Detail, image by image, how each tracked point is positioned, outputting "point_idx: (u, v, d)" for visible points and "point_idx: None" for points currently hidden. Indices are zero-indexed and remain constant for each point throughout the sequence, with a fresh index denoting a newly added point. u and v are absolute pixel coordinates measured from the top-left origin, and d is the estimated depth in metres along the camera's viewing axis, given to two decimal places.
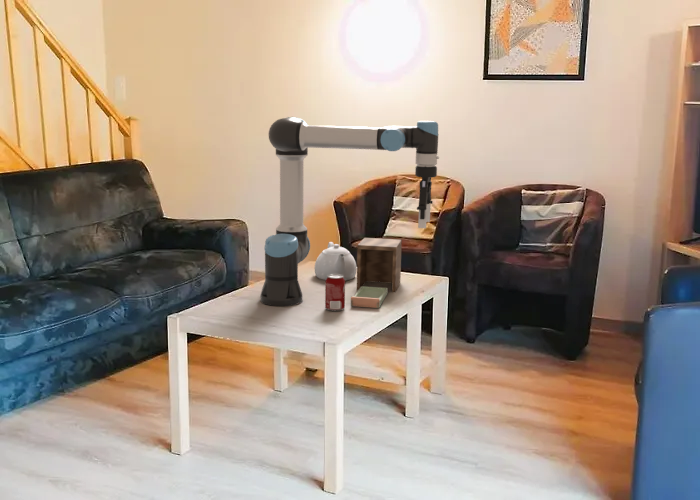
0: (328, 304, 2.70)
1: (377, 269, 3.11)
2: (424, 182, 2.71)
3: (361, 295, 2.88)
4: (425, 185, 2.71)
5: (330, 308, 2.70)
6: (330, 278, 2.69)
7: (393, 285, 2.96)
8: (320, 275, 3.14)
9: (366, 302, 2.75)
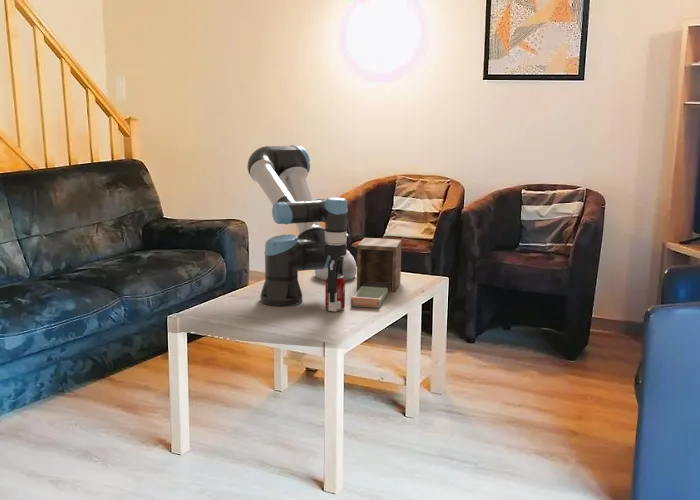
0: (328, 304, 2.70)
1: (377, 269, 3.11)
2: (331, 266, 2.63)
3: (361, 295, 2.88)
4: (333, 268, 2.64)
5: None
6: None
7: (393, 285, 2.96)
8: (320, 275, 3.14)
9: (366, 302, 2.75)
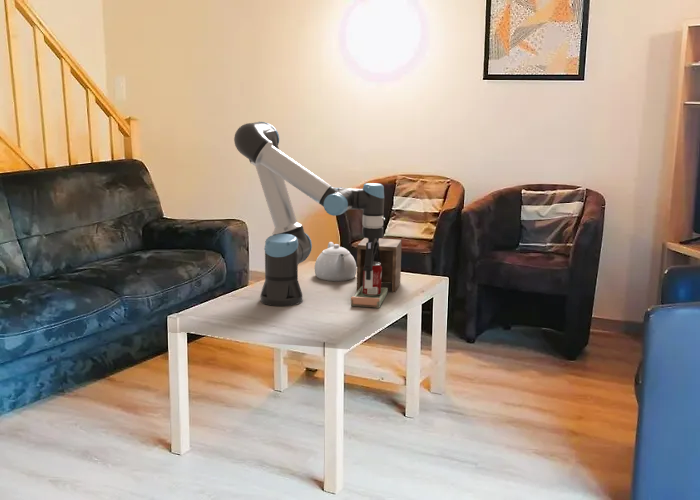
0: (365, 290, 2.85)
1: None
2: (370, 244, 2.78)
3: (361, 295, 2.88)
4: (371, 247, 2.78)
5: (367, 293, 2.85)
6: None
7: (393, 285, 2.96)
8: (320, 275, 3.14)
9: (366, 302, 2.75)
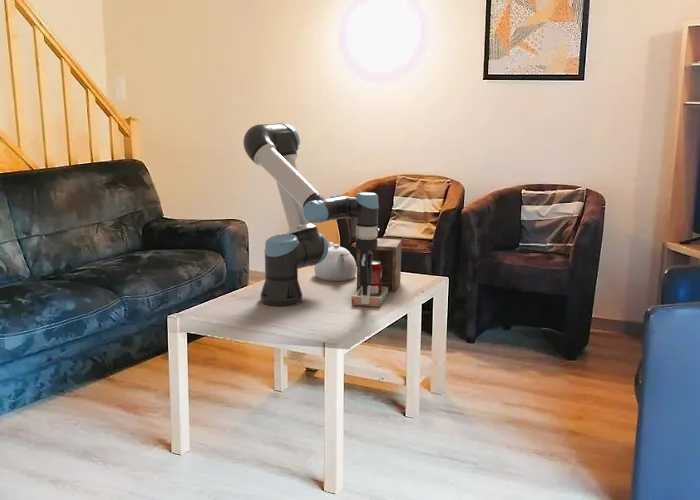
0: None
1: None
2: (363, 263, 2.67)
3: None
4: (364, 265, 2.68)
5: None
6: None
7: (393, 285, 2.96)
8: (320, 275, 3.14)
9: None
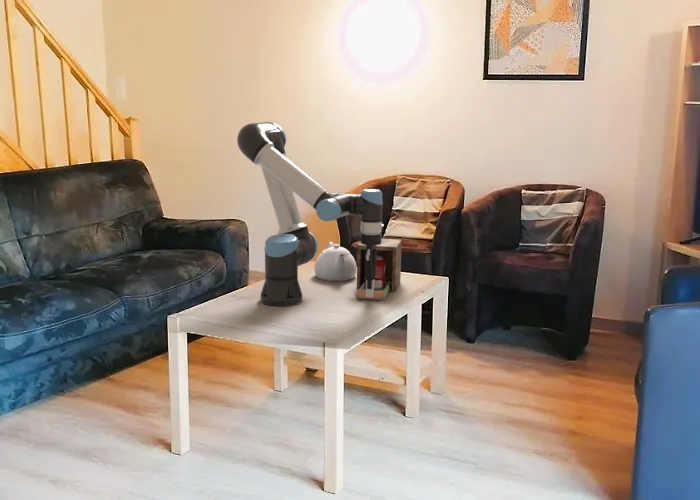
0: None
1: None
2: (368, 257, 2.75)
3: None
4: (369, 259, 2.76)
5: None
6: None
7: (393, 285, 2.96)
8: (320, 275, 3.14)
9: None
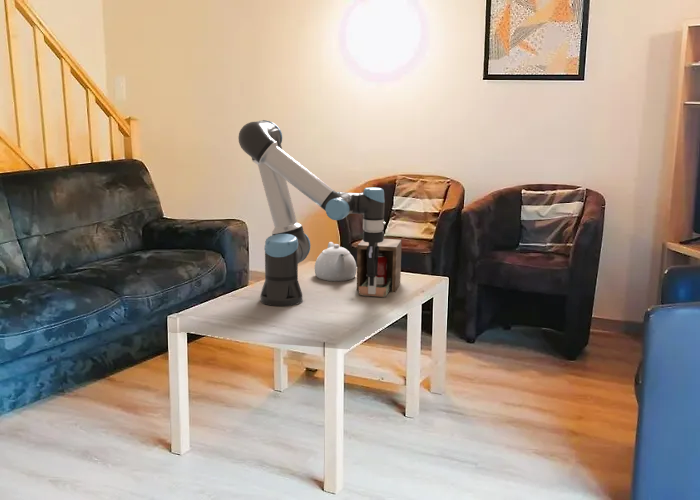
0: None
1: None
2: (370, 254, 2.80)
3: None
4: (371, 257, 2.81)
5: None
6: None
7: (393, 285, 2.96)
8: (320, 275, 3.14)
9: None
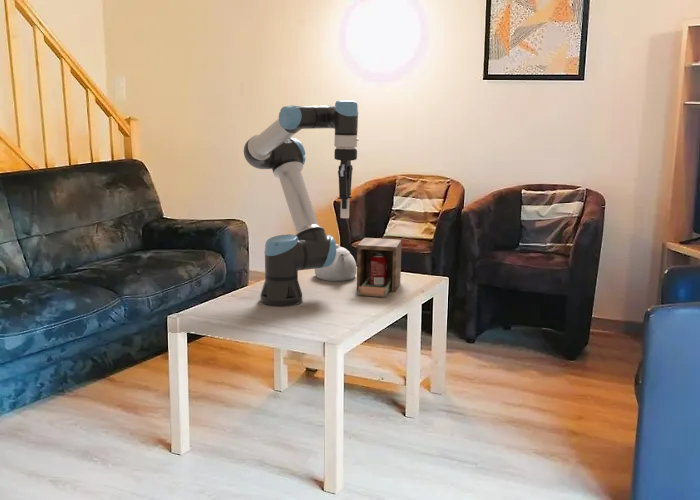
0: (372, 280, 3.00)
1: None
2: (342, 173, 2.57)
3: (368, 285, 3.02)
4: (343, 175, 2.57)
5: (374, 284, 3.00)
6: (374, 257, 2.98)
7: (393, 285, 2.96)
8: (320, 275, 3.14)
9: (373, 291, 2.90)
